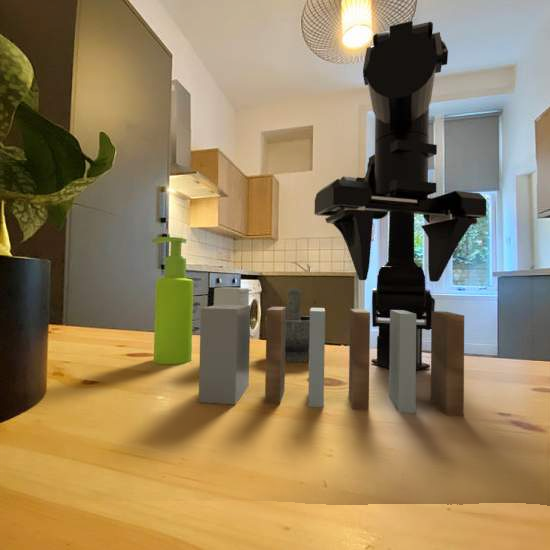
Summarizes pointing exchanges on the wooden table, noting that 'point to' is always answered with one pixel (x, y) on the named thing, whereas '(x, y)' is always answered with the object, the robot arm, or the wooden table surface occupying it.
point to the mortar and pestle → (296, 329)
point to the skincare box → (231, 296)
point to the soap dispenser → (173, 308)
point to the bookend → (224, 353)
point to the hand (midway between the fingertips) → (399, 280)
